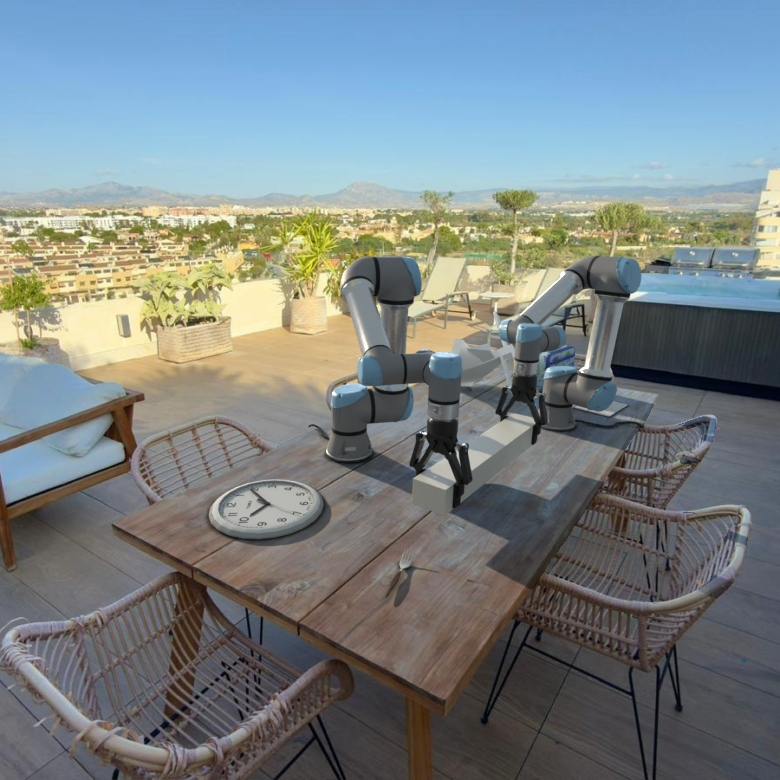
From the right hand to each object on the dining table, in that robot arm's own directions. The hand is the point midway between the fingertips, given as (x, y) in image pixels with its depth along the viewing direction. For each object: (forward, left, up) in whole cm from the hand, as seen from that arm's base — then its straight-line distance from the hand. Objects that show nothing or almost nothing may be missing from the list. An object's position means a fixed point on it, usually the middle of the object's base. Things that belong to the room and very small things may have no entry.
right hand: (518, 439), depth 170 cm
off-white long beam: (+12, +21, -1) cm, 25 cm away
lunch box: (-25, -85, -7) cm, 89 cm away
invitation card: (-43, -61, -7) cm, 75 cm away
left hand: (+25, +43, 0) cm, 50 cm away
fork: (+33, +66, -7) cm, 74 cm away
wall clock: (+71, +42, -7) cm, 82 cm away
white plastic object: (+9, -73, -7) cm, 74 cm away
